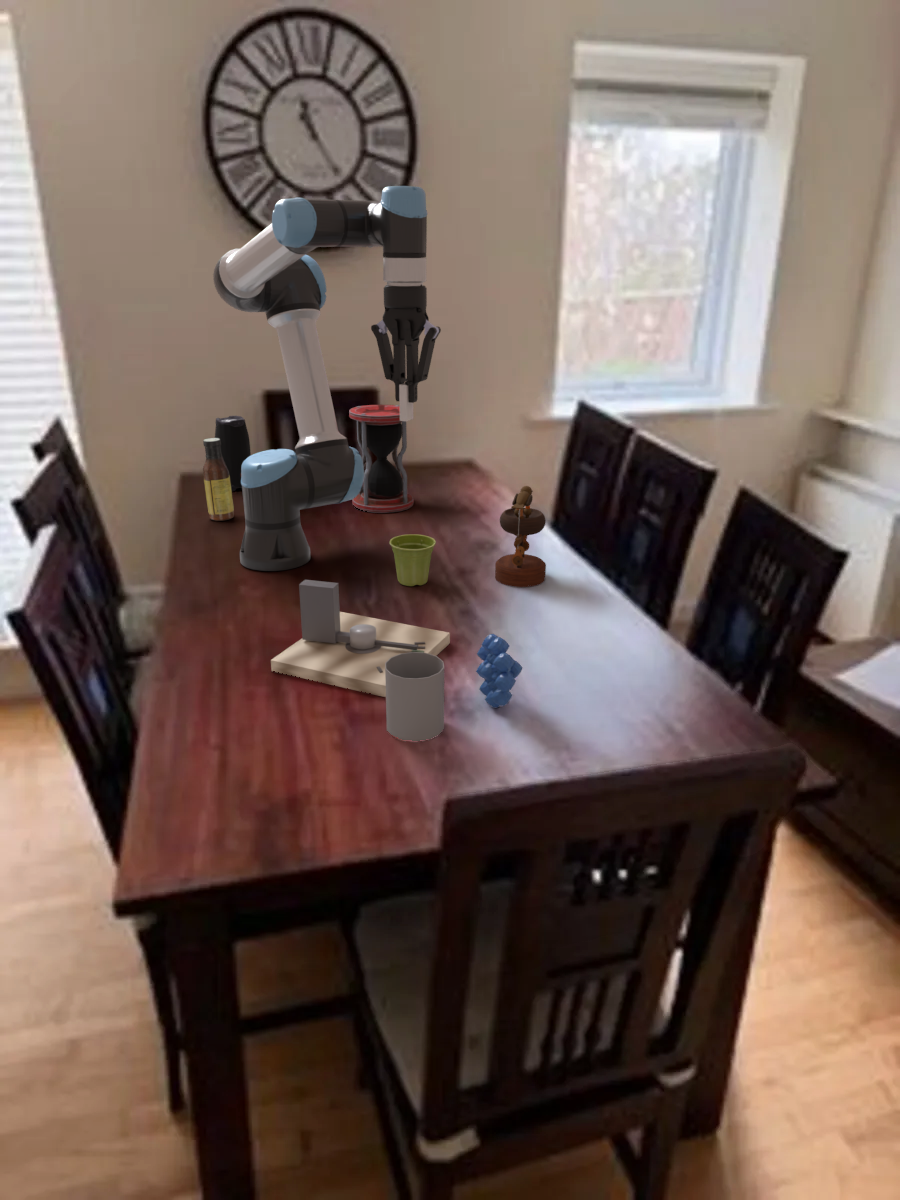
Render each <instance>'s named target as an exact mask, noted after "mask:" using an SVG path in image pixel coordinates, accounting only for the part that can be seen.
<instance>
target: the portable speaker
mask: <svg viewBox="0 0 900 1200" xmlns="http://www.w3.org/2000/svg"><path fill="white" fill-rule="evenodd" d="M245 419H246V418H244V417H243V416H241V415H229V416H227V417H216V418H215V431H214V438H218V439H220V442H221V445H220V447H221V454H222V457H223V460H224V462H225V464H226V467H227V469H228V471H229V476H230V483H231V491H232V492H235V491H236V490H237V489H242V484H241V466H242V463H243V462H244V460H246V458H248V457H249V456H251V455H252V454H251V443H250V436H249V432H248V428H247V424H246V420H245Z"/></svg>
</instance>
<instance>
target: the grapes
mask: <svg viewBox="0 0 900 1200" xmlns="http://www.w3.org/2000/svg"><path fill="white" fill-rule="evenodd" d="M509 648H510V644H509V642H508V641H506V639H504V638H502V637H500V636H499V635H497V634H495V633H489V634H488V635H487V636H485V638H484V640H483V641H482V643H481V647H479V649H478V651H477V653H476V655H477V656H478V657H479V659H480V660H482V662H481V663H480V664H479V666H478V667H477V669H476V671H475V672H476V674H477V675H479V677H480V678H482V679H483V682H482V683H481V685H480V687H479V688H478V690H479V691H480V692H481V693H482V695H484V696H486V697H485V698H484V701H485V702H486V703H487V705H489V706H491V707H492V708H494V709H495V708H497V709H498V708H500V707H505V706H506V705H508V704H509V702H510V701H511V699H512V697H513V694H512V692H511V690H512V688H513V687H514V686H515V684H516V682H517V680H516V678H518V677H519V675H520V674H521V673H522V670H523V669H524V668H523V666H522V665H521V664H520V663H519V661H517V660H515V659H514V658H513V657H512V655H510V654H508V653H507V651H508V650H509Z"/></svg>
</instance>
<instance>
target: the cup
mask: <svg viewBox="0 0 900 1200" xmlns="http://www.w3.org/2000/svg"><path fill="white" fill-rule="evenodd" d="M385 678H386V697H385V707H386V708H385V709H386V711H385V713H386V715H385V716H386V720H385V721H386V732H387V731H388V732H389V733H390V734H391V735H393V736H395V737H398V738H399V739H402V740H412V741H420V740H426V739H431V738H433V737H435V736H437V735H439V734H440V733H441V732H442V733H443V731H444V730H445V664H444V661H443V660H442V659H441V658H440V657H438V655H437V656H435V655H431V654H428V653H420V652H410V653H402V654H399V655H396V656H393V657H391V658H390V659H389V660H388V661H387V662H386V663H385ZM443 729H444V730H443ZM442 730H443V731H442ZM388 732H387V733H388ZM389 733H388V734H389ZM442 733H441V734H442ZM390 734H389V735H390ZM441 734H440V735H441ZM391 735H390V736H391ZM440 735H439V736H440ZM437 737H438V736H437ZM435 738H436V737H435ZM399 739H398V740H399ZM433 739H434V738H433ZM431 740H432V739H431Z"/></svg>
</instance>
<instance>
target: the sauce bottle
mask: <svg viewBox="0 0 900 1200" xmlns="http://www.w3.org/2000/svg"><path fill="white" fill-rule="evenodd" d="M220 445H221V442H220V439H218V438H215V437H210V438H205V439H203V447H204V450H205V451H204V452H205V462H204V464H203V467H202V472H203V483H204V491H205V498H206V504H207V510H208V511H207V512H208V514H209V515H208V516H209V519H210V520H211V521H216V522H217V521H218V522H221V521H223V522H224V521H228V520H231V519H233V518H234V515H235V514H234V511H235V509H234V500H233V493H232V492H233V491H231V483H230V476H229V471H228V469H227V467H226V464H225V462H224V460H223V457H222V454H221V447H220Z"/></svg>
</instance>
